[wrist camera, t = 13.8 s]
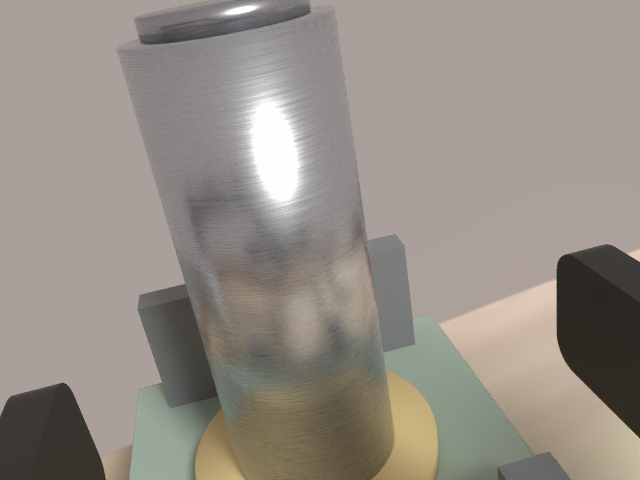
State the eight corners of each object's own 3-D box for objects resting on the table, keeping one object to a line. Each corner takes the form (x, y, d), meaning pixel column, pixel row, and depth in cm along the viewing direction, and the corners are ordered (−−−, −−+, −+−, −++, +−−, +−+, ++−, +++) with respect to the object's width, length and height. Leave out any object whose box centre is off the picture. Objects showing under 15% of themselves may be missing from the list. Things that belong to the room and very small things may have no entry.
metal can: (244, 525, 18) (49, -114, 11) (232, 408, 24) (91, -85, 16) (417, 475, 19) (338, -159, 12) (369, 372, 24) (293, -118, 17)
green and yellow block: (165, 851, 17) (25, 606, 13) (173, 484, 30) (105, 294, 25) (609, 697, 19) (628, 429, 14) (440, 410, 32) (421, 219, 27)
